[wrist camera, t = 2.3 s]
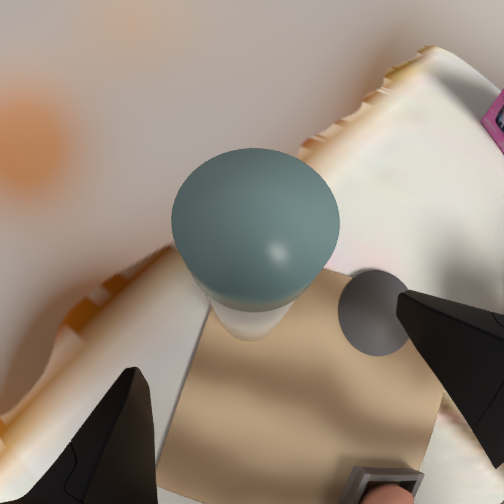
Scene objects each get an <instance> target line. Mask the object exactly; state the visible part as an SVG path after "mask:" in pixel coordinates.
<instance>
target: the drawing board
mask: <svg viewBox="0 0 504 504" xmlns="http://www.w3.org/2000/svg"><path fill="white" fill-rule="evenodd" d="M405 290H408V289H407V287H406V286H405V285H404V284H403V282H401V281H400V280H399V279H398V278H397V277H395V276H394V275H392V274H390V273H387V272H384V271H378V270H372V271H367V272H364V273H361V274H359V275H357V276H356V277H355V278H352V277H349V276H346V275H342V274H339V273H336V272H332V271H329V270H326V269H323V268H322V270H321V271H320V273H319V274H318V275H317V277H316V278H315V279H314V281H313V282H312V283H311V285H310V286H309V287H308V288H307V289H306V291H305V292H304V293H303V294H302V295H301V296H299V297H298V298H297V299H296V300H295V301H294V303H293V304H292V305H291V307H290V308H289V309H288V311H287V312H286V314H285V315H284V316H283V318H282V319H281V320H280V322H279V323H278V324H277V326H276V327H275V328H274V330H273V331H272V332H271V333H270V334H269V335H268V336H266V337H264V338H262V339H260V340H257V341H242V340H239V339H237V338H235V337H233V336H232V335H230V334H229V333H228V332H227V331H226V330H225V328H224V327H223V325H222V323H221V321H220V319H219V318H218V316H217V314H216V312H215V310H214V308H213V307H212V308H211V311H210V313H209V316H208V319H207V322H206V325H205V327H204V330H203V333H202V336H201V339H200V341H199V344H198V347H197V350H196V353H195V356H194V358H193V361H192V364H191V367H190V370H189V373H188V376H187V379H186V381H185V384H184V387H183V390H182V393H181V396H180V399H179V402H178V405H177V408H176V411H175V414H174V417H173V420H172V423H171V426H170V429H169V432H168V435H167V438H166V441H165V444H164V447H163V450H162V453H161V456H160V459H159V462H158V465H157V468H156V486H158V487H161V488H163V489H166V490H168V491H171V492H173V493H176V494H179V495H181V496H184V497H187V498H190V499H193V500H196V501H199V502H202V503H205V504H358V502H359V500H360V498H361V496H362V494H363V493H364V492H366V491H367V490H368V489H369V488H371V487H373V486H375V485H377V484H379V483H383V482H393V483H395V484H397V485H398V486H400V487H402V488H403V489H405V490H406V491H408V492H410V493H411V494H412V496H413V498H414V497H415V495H416V493H417V490H418V488H419V486H420V484H421V481H422V479H423V477H424V474H423V473H421V472H419V468H420V466H421V463H422V461H423V458H424V455H425V453H426V450H427V447H428V444H429V441H430V438H431V435H432V432H433V428H434V425H435V422H436V418H437V414H438V411H439V407H440V403H441V399H442V395H443V390H444V387H443V386H442V384H441V383H440V381H439V380H438V378H437V377H436V376H435V374H434V373H433V371H432V370H431V369H430V367H429V366H428V364H427V363H426V362H425V360H424V359H423V358H422V356H421V355H420V354H419V352H418V351H417V349H416V348H415V346H414V345H413V343H412V341H411V340H410V338H409V336H408V335H407V333H406V331H405V330H404V328H403V326H402V325H401V323H400V322H399V320H398V318H397V316H396V306H397V298H398V294H399V293H400V292H403V291H405Z"/></svg>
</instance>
